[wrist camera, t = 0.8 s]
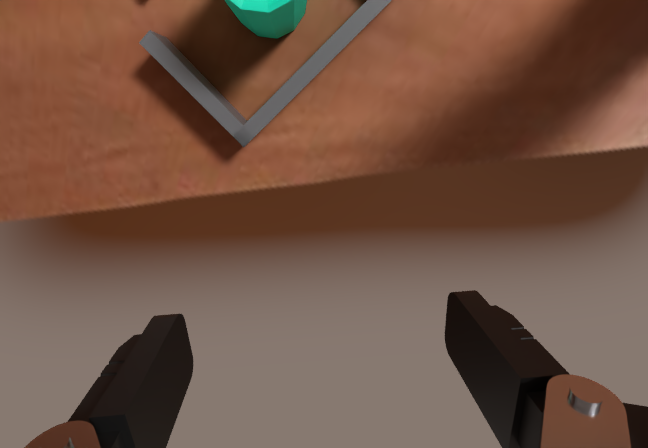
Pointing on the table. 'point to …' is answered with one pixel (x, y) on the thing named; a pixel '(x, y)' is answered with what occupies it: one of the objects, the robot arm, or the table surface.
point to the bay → (250, 128)
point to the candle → (269, 15)
